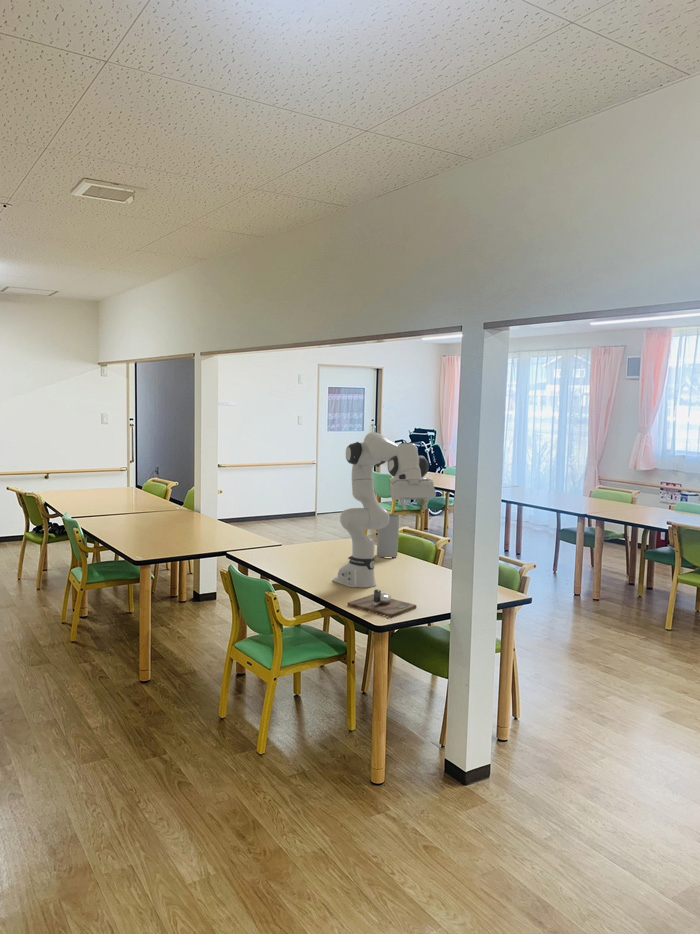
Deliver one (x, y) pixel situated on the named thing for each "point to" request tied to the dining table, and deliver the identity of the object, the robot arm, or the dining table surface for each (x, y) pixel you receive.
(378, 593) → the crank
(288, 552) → the dining table surface
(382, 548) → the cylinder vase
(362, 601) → the board
